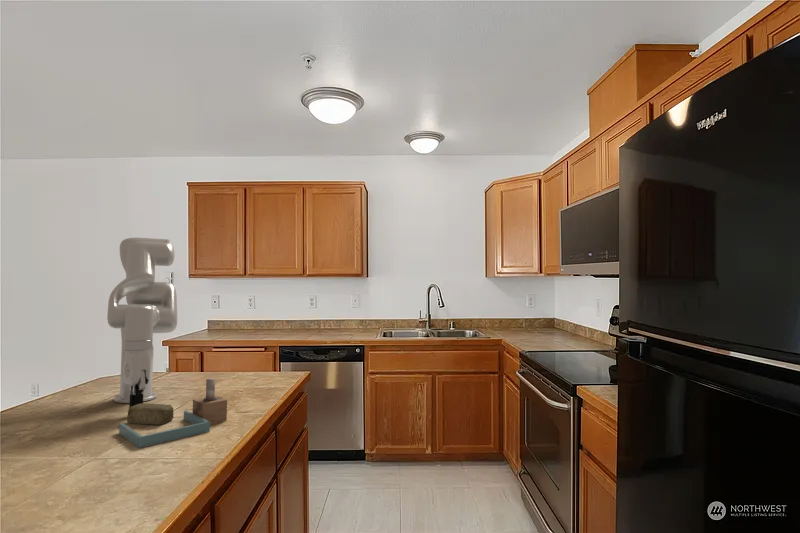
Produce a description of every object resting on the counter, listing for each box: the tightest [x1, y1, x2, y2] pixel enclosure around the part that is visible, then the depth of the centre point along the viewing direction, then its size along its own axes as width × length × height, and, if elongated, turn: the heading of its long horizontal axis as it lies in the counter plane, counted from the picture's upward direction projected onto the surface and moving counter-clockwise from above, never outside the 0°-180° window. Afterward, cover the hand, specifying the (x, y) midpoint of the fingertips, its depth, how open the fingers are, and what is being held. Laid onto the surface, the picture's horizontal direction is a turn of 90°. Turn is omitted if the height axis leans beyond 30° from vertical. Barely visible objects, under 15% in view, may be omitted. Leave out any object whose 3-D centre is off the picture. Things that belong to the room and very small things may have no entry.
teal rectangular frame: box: [118, 410, 211, 449], centre depth 122 cm, size 15×18×2 cm
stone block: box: [126, 402, 174, 426], centre depth 130 cm, size 6×12×5 cm, turn 84°
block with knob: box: [192, 377, 228, 425], centre depth 133 cm, size 7×7×12 cm
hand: (136, 407), depth 136 cm, fingers closed
